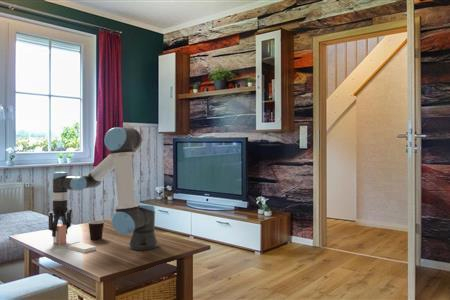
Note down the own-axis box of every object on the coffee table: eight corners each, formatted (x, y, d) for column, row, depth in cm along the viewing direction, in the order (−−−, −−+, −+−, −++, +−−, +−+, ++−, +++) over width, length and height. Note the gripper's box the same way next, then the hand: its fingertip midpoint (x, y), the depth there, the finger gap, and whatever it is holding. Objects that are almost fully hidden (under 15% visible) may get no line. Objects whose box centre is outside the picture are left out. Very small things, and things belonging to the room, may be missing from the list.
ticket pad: (95, 250, 194) (95, 246, 194) (84, 253, 188) (84, 249, 188) (79, 245, 202) (79, 241, 202) (67, 248, 196) (67, 244, 196)
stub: (66, 243, 206) (66, 225, 206) (59, 244, 202) (59, 226, 202) (59, 241, 209) (60, 223, 209) (53, 242, 206) (53, 224, 206)
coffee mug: (98, 241, 211) (99, 224, 210) (85, 240, 212) (85, 223, 212) (109, 236, 222) (109, 220, 222) (96, 235, 224) (96, 219, 224)
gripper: (70, 197, 215) (70, 237, 215) (41, 200, 200) (40, 243, 201) (78, 198, 211) (77, 239, 211) (48, 202, 196) (48, 245, 196)
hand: (59, 241), depth 206 cm, fingers open, 4 cm apart
